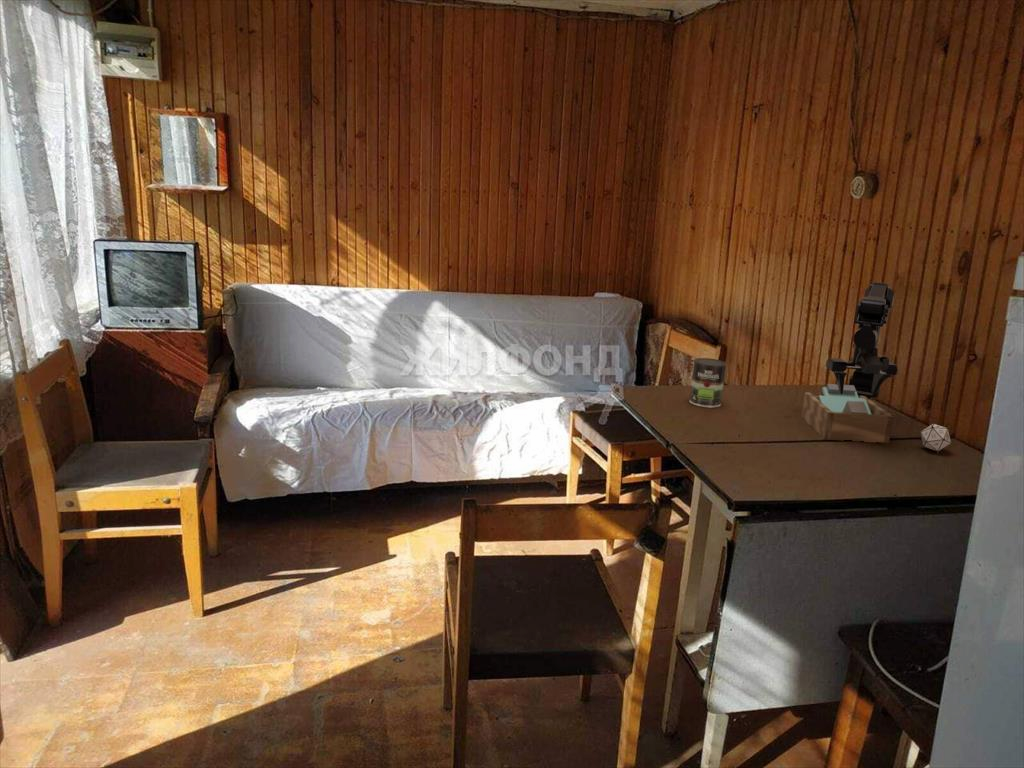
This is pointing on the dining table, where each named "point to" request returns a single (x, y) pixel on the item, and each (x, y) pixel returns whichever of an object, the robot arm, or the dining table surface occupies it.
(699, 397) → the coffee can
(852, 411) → the grey block
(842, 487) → the dining table surface
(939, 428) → the game die
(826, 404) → the trapdoor
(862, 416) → the box frame
